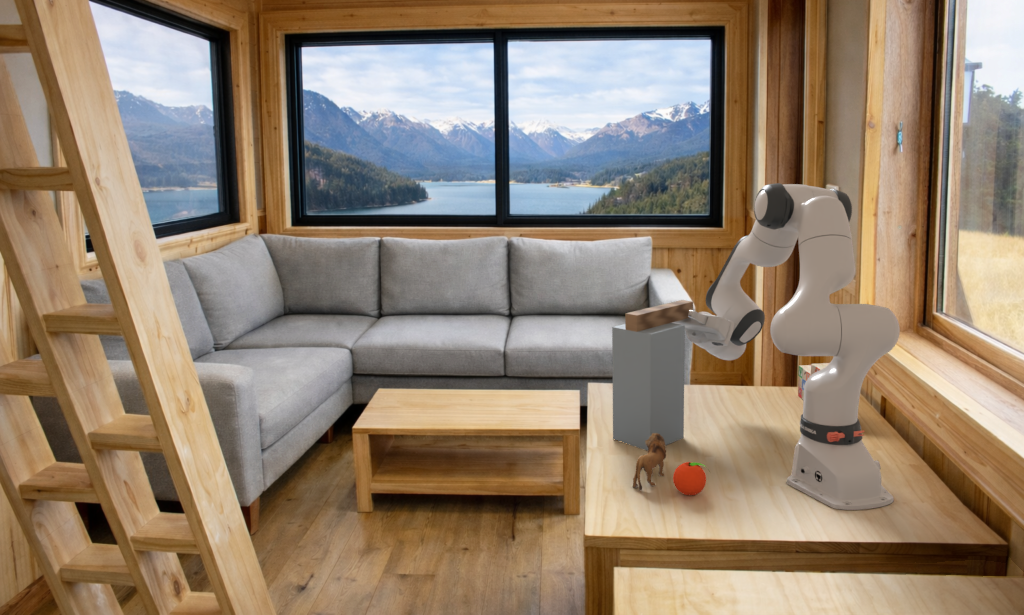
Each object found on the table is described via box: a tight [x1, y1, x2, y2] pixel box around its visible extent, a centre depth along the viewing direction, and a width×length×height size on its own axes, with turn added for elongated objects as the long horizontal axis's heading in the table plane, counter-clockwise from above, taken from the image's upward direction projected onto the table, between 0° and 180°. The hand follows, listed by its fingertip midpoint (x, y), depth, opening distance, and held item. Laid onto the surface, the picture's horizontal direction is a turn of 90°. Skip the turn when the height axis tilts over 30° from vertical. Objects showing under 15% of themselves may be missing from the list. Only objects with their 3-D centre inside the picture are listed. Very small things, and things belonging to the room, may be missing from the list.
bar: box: [624, 299, 694, 332], centre depth 209 cm, size 22×4×4 cm, turn 131°
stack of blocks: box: [797, 362, 830, 400], centre depth 231 cm, size 21×6×12 cm, turn 2°
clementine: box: [672, 461, 711, 496], centre depth 179 cm, size 8×7×7 cm
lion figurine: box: [632, 433, 667, 491], centre depth 187 cm, size 15×5×9 cm, turn 157°
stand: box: [611, 323, 686, 452], centre depth 210 cm, size 13×12×29 cm
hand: (675, 310), depth 213 cm, fingers open, 8 cm apart
